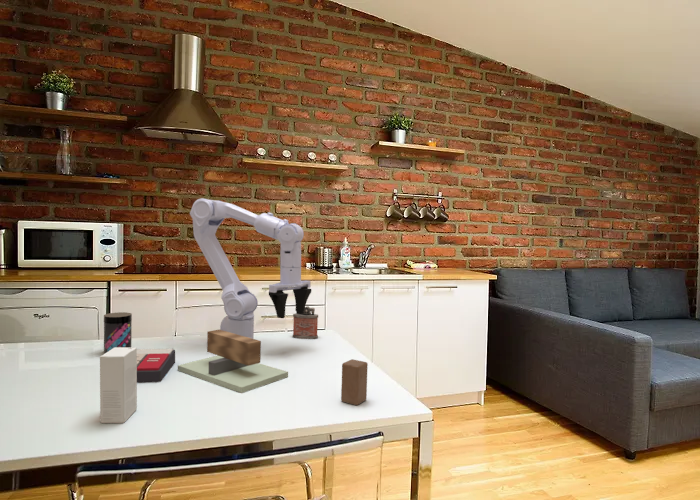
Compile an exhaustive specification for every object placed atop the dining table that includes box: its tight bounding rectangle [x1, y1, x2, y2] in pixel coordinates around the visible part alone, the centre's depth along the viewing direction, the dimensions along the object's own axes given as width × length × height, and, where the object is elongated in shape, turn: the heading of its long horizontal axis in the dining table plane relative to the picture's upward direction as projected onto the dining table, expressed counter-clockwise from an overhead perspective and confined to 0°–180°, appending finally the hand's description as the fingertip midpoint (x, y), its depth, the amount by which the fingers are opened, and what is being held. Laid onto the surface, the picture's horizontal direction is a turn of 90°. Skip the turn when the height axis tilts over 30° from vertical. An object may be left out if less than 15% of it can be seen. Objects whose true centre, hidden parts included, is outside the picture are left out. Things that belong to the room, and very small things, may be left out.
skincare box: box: [99, 347, 138, 424], centre depth 83 cm, size 6×4×12 cm
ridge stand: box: [177, 355, 289, 394], centre depth 109 cm, size 23×14×4 cm, turn 54°
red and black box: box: [137, 348, 176, 384], centre depth 108 cm, size 11×4×15 cm
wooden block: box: [340, 359, 369, 406], centre depth 94 cm, size 4×4×8 cm
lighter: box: [292, 305, 319, 340], centre depth 146 cm, size 8×3×10 cm, turn 84°
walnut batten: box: [206, 329, 262, 366], centre depth 108 cm, size 16×3×5 cm, turn 51°
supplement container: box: [103, 311, 133, 354], centre depth 123 cm, size 7×7×10 cm
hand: (290, 315), depth 128 cm, fingers open, 7 cm apart
